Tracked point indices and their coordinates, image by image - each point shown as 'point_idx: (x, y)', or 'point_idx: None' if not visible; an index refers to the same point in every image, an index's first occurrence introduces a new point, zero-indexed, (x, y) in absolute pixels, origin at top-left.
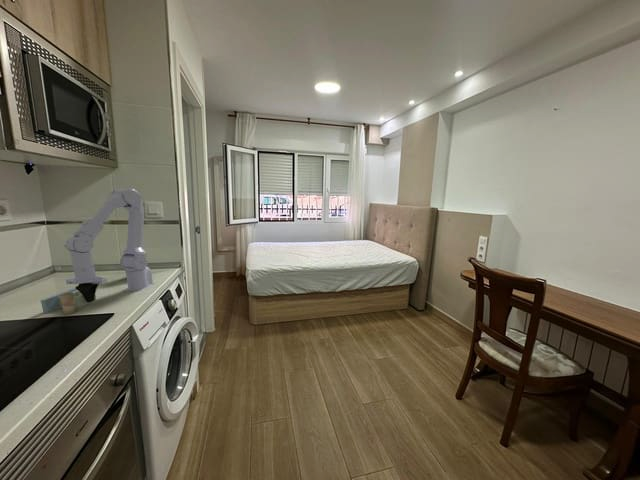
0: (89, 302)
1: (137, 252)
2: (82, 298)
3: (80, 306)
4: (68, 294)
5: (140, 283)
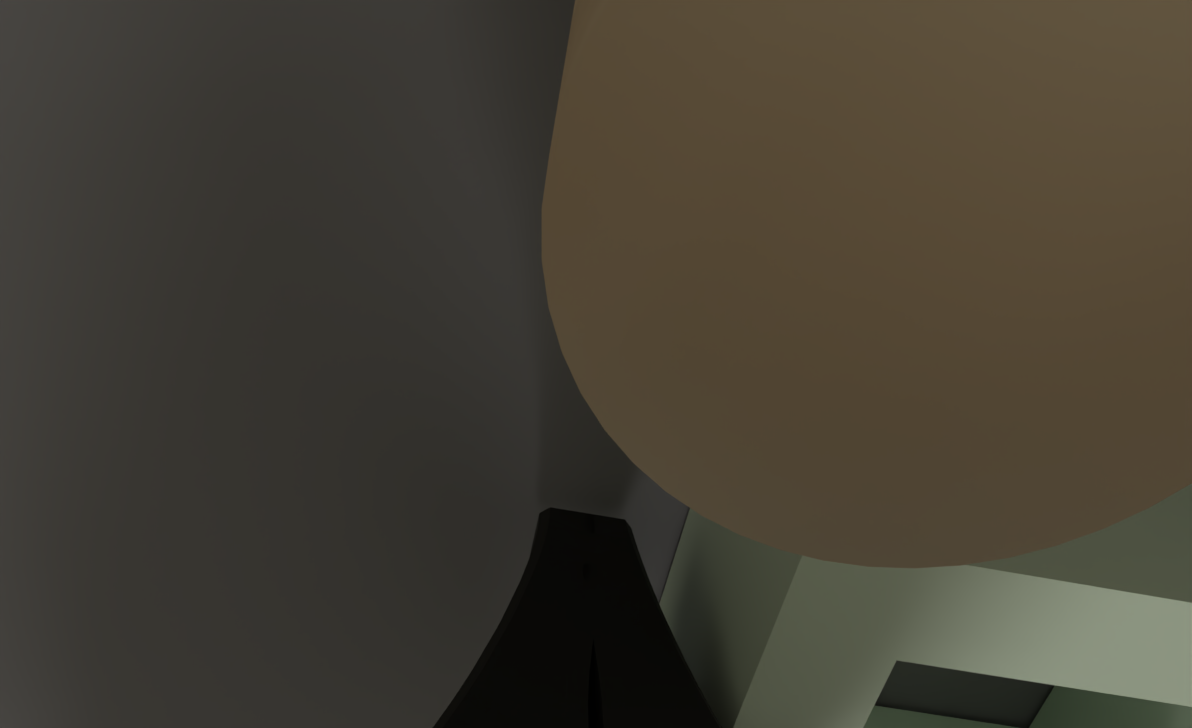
0: (666, 589)
1: None
2: (731, 611)
3: None
4: (806, 216)
5: None
